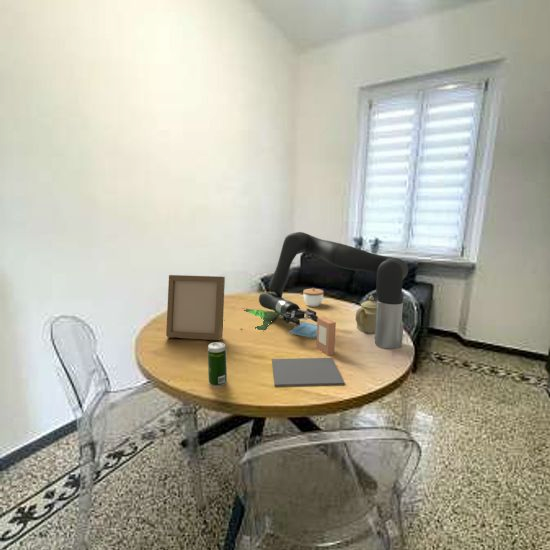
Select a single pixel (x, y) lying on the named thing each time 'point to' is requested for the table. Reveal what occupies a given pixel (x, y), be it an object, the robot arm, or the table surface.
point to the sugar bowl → (367, 316)
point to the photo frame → (195, 307)
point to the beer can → (217, 364)
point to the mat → (306, 372)
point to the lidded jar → (313, 297)
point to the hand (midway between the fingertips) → (308, 321)
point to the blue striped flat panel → (305, 330)
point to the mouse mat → (264, 317)
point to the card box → (326, 335)
